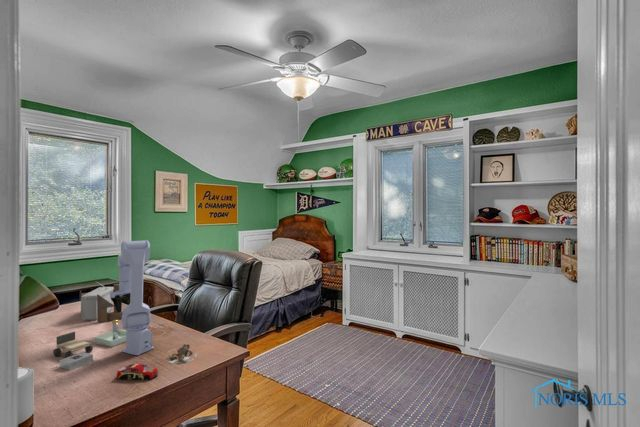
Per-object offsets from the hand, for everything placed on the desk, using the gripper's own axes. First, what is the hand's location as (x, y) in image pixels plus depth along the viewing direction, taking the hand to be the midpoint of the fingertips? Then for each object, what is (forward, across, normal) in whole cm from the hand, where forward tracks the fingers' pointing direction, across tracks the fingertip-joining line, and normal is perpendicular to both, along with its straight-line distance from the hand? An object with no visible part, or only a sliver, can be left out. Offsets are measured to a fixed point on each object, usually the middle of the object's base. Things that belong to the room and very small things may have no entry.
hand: (126, 309), depth 160 cm
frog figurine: (+11, +9, +44) cm, 46 cm away
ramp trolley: (+10, +25, +3) cm, 27 cm away
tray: (+10, +9, +5) cm, 15 cm away
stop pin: (+10, +9, +5) cm, 14 cm away
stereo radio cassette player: (+11, -11, -37) cm, 40 cm away
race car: (+11, +27, +42) cm, 51 cm away
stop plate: (+10, +30, +14) cm, 35 cm away
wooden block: (+11, -8, -23) cm, 27 cm away
